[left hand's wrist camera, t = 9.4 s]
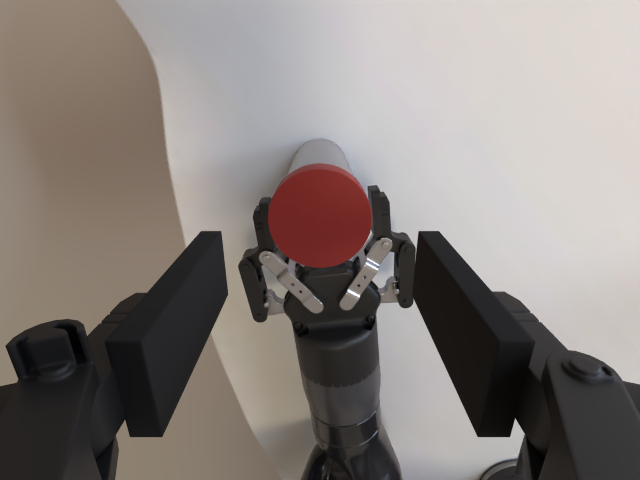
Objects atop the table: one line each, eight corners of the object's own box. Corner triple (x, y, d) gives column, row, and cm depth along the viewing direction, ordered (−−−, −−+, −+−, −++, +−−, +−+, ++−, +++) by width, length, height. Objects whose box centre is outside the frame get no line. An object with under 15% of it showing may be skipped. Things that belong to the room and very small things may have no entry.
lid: (384, 186, 20) (390, 194, 18) (344, 268, 22) (345, 281, 20) (292, 146, 19) (290, 151, 17) (258, 235, 21) (253, 246, 19)
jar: (355, 151, 33) (382, 194, 19) (333, 200, 35) (343, 273, 20) (305, 129, 32) (293, 156, 18) (285, 180, 34) (260, 241, 20)
